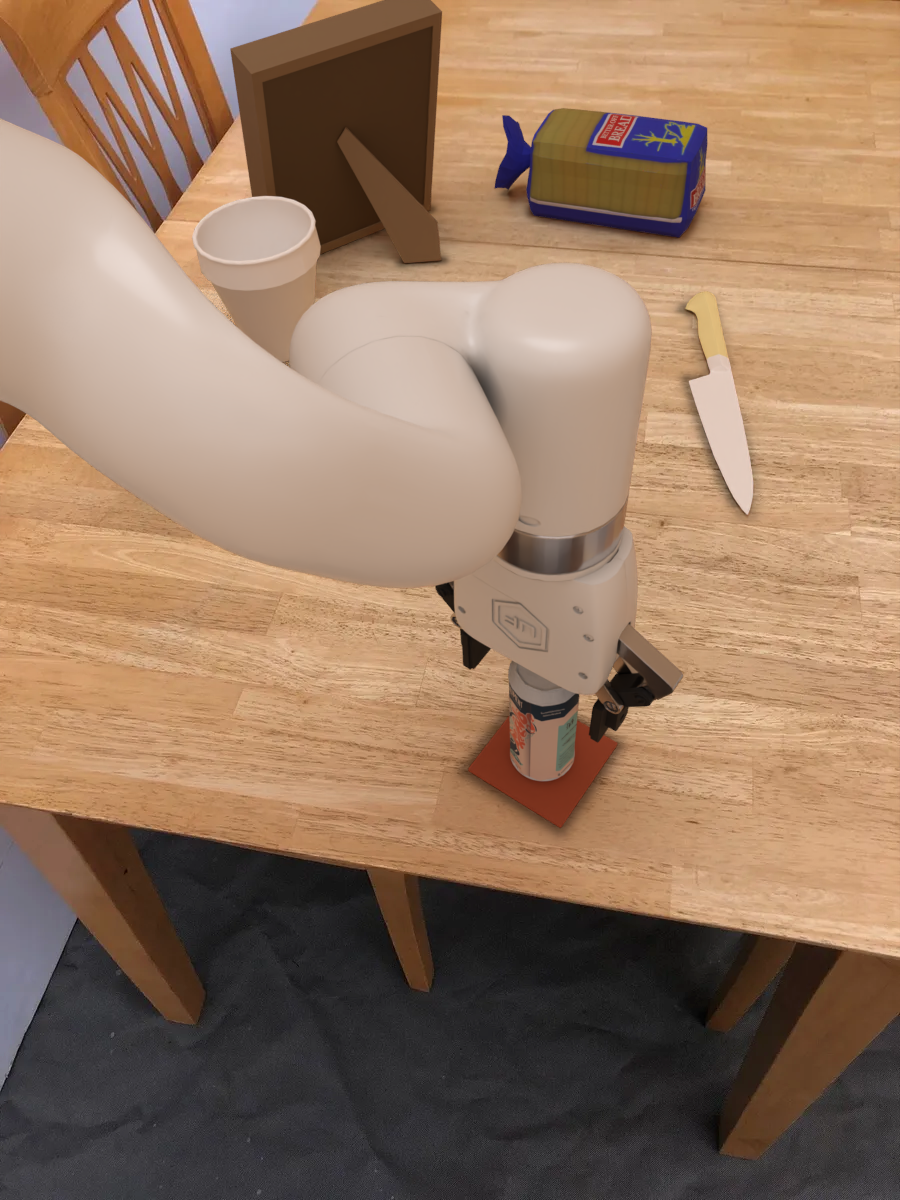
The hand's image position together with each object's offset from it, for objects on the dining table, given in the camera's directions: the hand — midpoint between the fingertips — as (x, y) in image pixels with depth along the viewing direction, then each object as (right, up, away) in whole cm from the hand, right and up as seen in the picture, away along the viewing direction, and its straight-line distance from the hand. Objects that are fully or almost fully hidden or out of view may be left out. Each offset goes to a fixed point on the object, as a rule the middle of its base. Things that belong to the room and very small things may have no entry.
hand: (541, 687), depth 61 cm
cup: (-24, +34, +41) cm, 59 cm away
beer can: (+1, -6, +8) cm, 10 cm away
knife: (+20, +26, +31) cm, 46 cm away
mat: (+1, -6, +8) cm, 10 cm away
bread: (+12, +54, +54) cm, 77 cm away
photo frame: (-16, +48, +51) cm, 72 cm away
